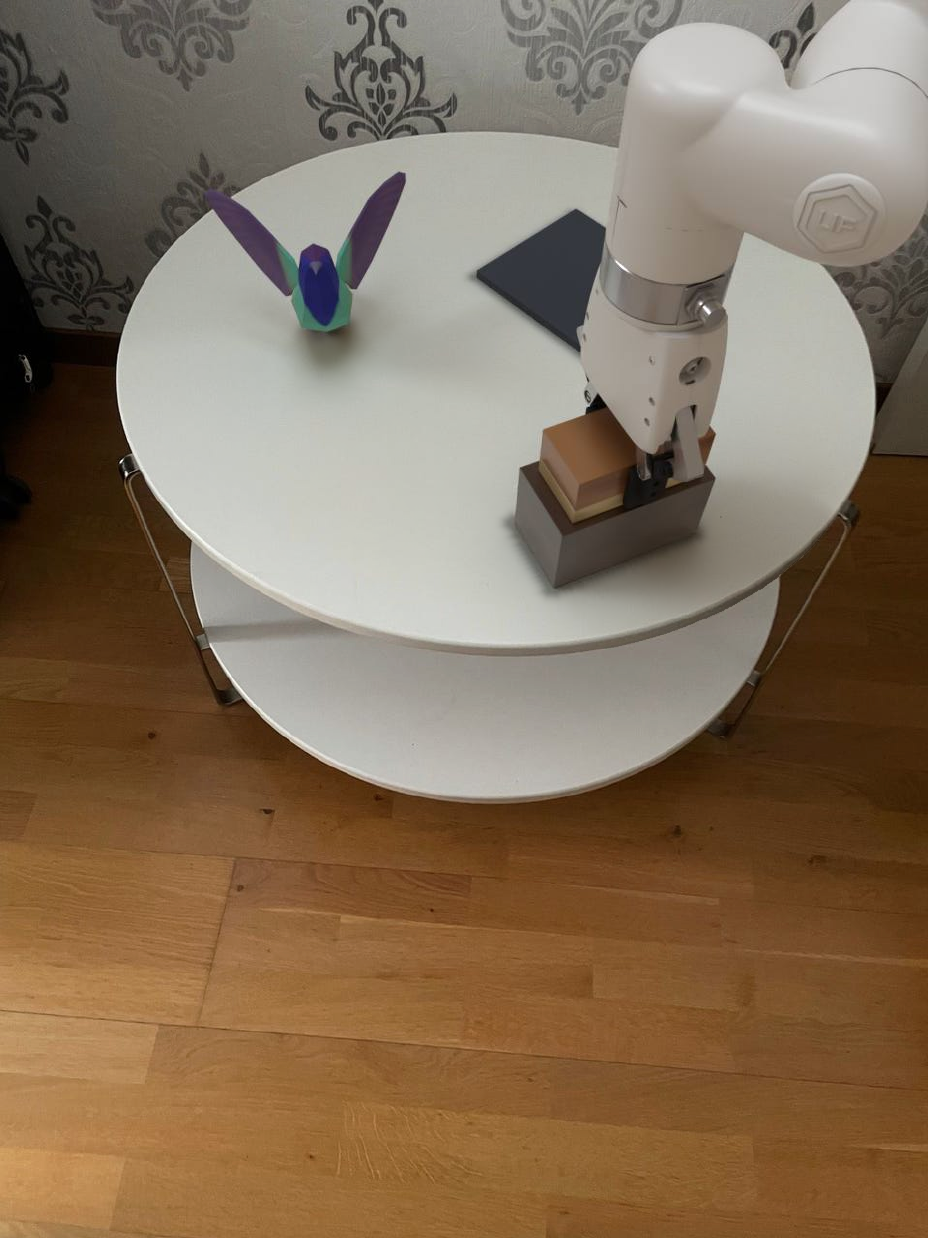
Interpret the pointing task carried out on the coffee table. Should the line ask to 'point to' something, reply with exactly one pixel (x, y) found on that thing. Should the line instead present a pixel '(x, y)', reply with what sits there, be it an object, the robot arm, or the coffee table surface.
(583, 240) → the mat
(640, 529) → the stand
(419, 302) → the coffee table surface
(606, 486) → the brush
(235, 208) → the decorative sculpture
